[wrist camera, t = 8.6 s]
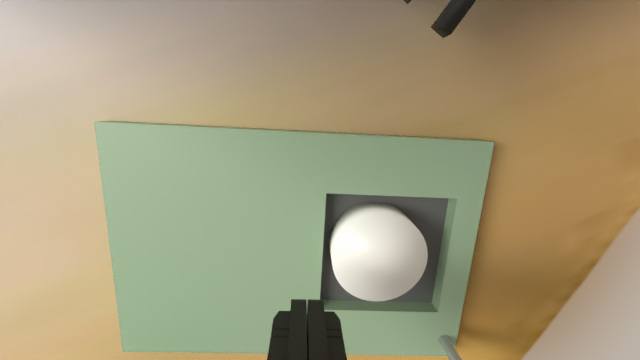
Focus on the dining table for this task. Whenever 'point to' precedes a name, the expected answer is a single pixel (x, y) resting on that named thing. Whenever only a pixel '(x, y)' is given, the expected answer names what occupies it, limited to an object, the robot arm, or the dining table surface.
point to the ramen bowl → (450, 16)
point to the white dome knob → (377, 251)
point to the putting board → (279, 232)
